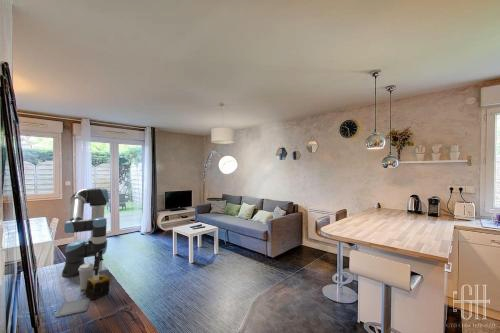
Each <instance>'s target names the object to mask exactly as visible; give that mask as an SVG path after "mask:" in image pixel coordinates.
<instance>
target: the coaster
mask: <svg viewBox="0 0 500 333" xmlns="http://www.w3.org/2000/svg"><path fill="white" fill-rule="evenodd" d="M91 300H92V299H91V298H89V297H86V298H81V299H76V300H72V301H71V300H70V301H66V302H62V304H61V306H60V307H59V309H58V311H57V313H56V315H55V316H54V318H56V319H57V318H62V317H65V316H71V315H77V314H80V313H85V312H86V313H87V311H88V308H89V306H90V302H91Z"/></svg>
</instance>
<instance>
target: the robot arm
mask: <svg viewBox="0 0 500 333" xmlns="http://www.w3.org/2000/svg"><path fill="white" fill-rule="evenodd" d="M109 199H110V198H109V192H108V189H107V188H103V187H102V188H101V187H100V188H99V187H97V188H82V189H80V190H78V191H76V192H74V193H73V194H72V195H71V197H70V200H69V204H70V212H69V218H68V219H69V220H68V221H65V222H64V227H63V229H64V230H63V231H64V232H63V233H65V234H74V233H83V232H90V237H89V238H88V240H87V241H85V240H84V239H81V240H75V241H73V242H70V243H68V244H67V245H66V246H65V251H64V252H65V257H64V258H65V262H64V266H63V269H62V271H61V276H62V277H64V278H71V277H77V276H79V271H78V269H79V267H80V266H81V265H83V264H86V263H85V258H90V257H94V262H93V263H94V269H93V270H94V275H93V277H94V281H95V280H99V276H100V272H102V271H103V261H104V256H103V255H104V254H105V253H107V247H108V239H107V218H106V217H105V208H106V207H107V203H109V202H110V201H109ZM85 204H89V207H90V208H91V217H90V218H91V219H84V211H85V209H84V208H85Z"/></svg>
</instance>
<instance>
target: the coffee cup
mask: <svg viewBox="0 0 500 333" xmlns="http://www.w3.org/2000/svg"><path fill="white" fill-rule="evenodd" d="M93 269H94V262H86V263H85V264H83V265H81V266H80V267H79V269H78V271H79V275H78V276H79V289H80V290H81V291H83V290H84V291H86V286H87V279H89V278H93V277H94V270H93Z"/></svg>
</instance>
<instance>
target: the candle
mask: <svg viewBox="0 0 500 333" xmlns="http://www.w3.org/2000/svg"><path fill="white" fill-rule="evenodd" d="M110 284H111V278H110V277H109V276H107V275H105V274H99V280H95V281H94V276H93V278H89V279H87V286H86V289H85V293H84V295H85V296H86V298H91V299H90V300H92V301H93V300H97V299H99V298H100V297H103V296H107V295H109V293H110Z"/></svg>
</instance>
